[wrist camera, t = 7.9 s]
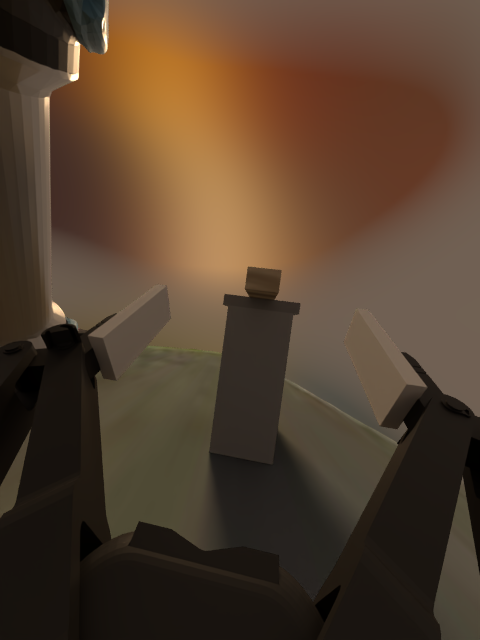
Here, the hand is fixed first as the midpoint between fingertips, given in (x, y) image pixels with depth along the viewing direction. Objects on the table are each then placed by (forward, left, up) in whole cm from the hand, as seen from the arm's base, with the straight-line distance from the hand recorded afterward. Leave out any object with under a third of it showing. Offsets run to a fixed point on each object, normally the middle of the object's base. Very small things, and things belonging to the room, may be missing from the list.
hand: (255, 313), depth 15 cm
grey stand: (0, +34, -27) cm, 43 cm away
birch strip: (0, +28, +3) cm, 28 cm away
